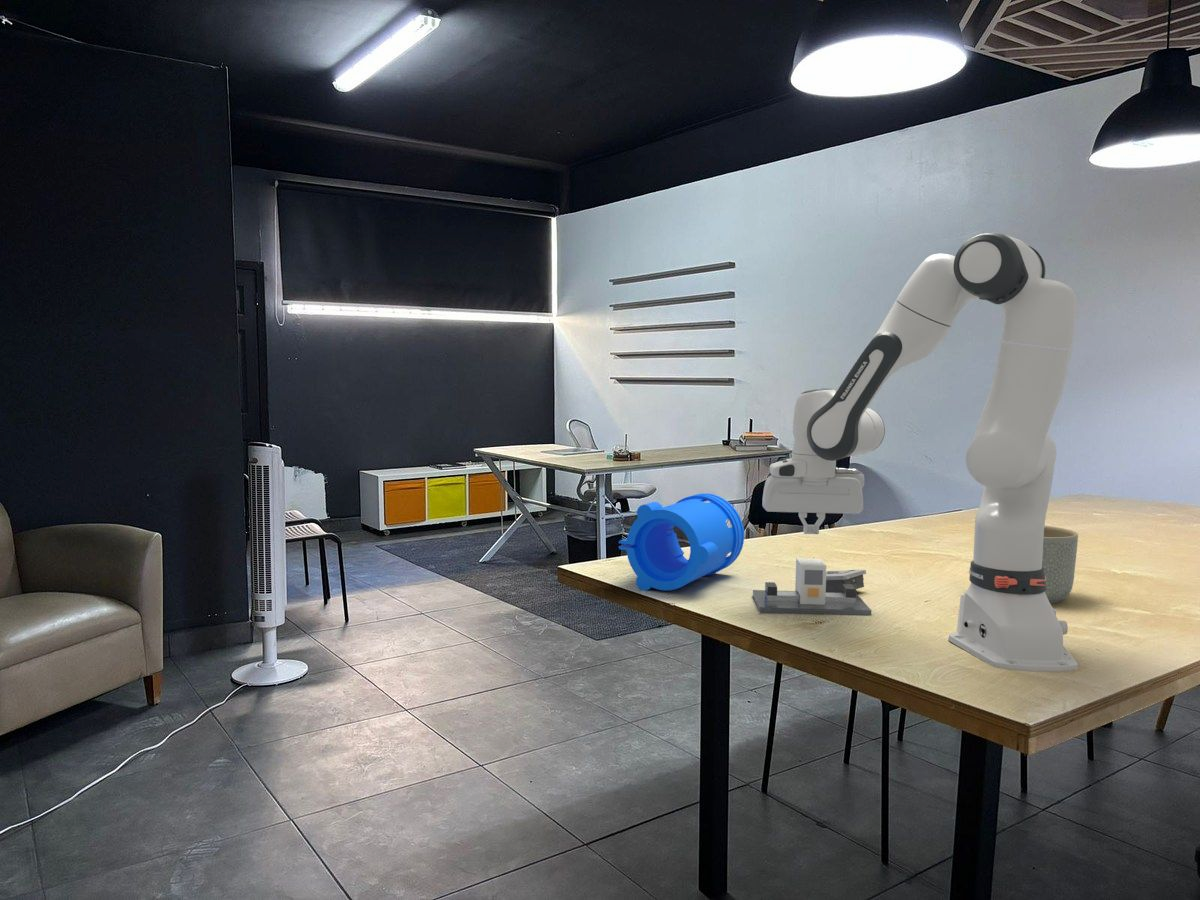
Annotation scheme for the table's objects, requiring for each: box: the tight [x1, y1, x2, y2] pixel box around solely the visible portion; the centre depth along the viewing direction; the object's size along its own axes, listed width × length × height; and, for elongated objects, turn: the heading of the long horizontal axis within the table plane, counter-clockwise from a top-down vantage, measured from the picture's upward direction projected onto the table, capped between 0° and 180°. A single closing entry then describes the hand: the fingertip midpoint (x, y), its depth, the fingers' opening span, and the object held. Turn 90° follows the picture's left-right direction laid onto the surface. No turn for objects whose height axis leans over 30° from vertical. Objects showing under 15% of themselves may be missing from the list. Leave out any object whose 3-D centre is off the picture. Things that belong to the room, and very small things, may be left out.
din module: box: [794, 557, 827, 605], centre depth 178 cm, size 8×5×8 cm, turn 176°
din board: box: [752, 581, 872, 616], centre depth 179 cm, size 14×22×4 cm, turn 86°
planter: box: [1042, 525, 1079, 605], centre depth 186 cm, size 17×17×15 cm
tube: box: [618, 493, 745, 592], centre depth 200 cm, size 25×22×19 cm
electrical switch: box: [826, 569, 867, 592], centre depth 190 cm, size 9×5×9 cm
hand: (811, 533), depth 178 cm, fingers closed
